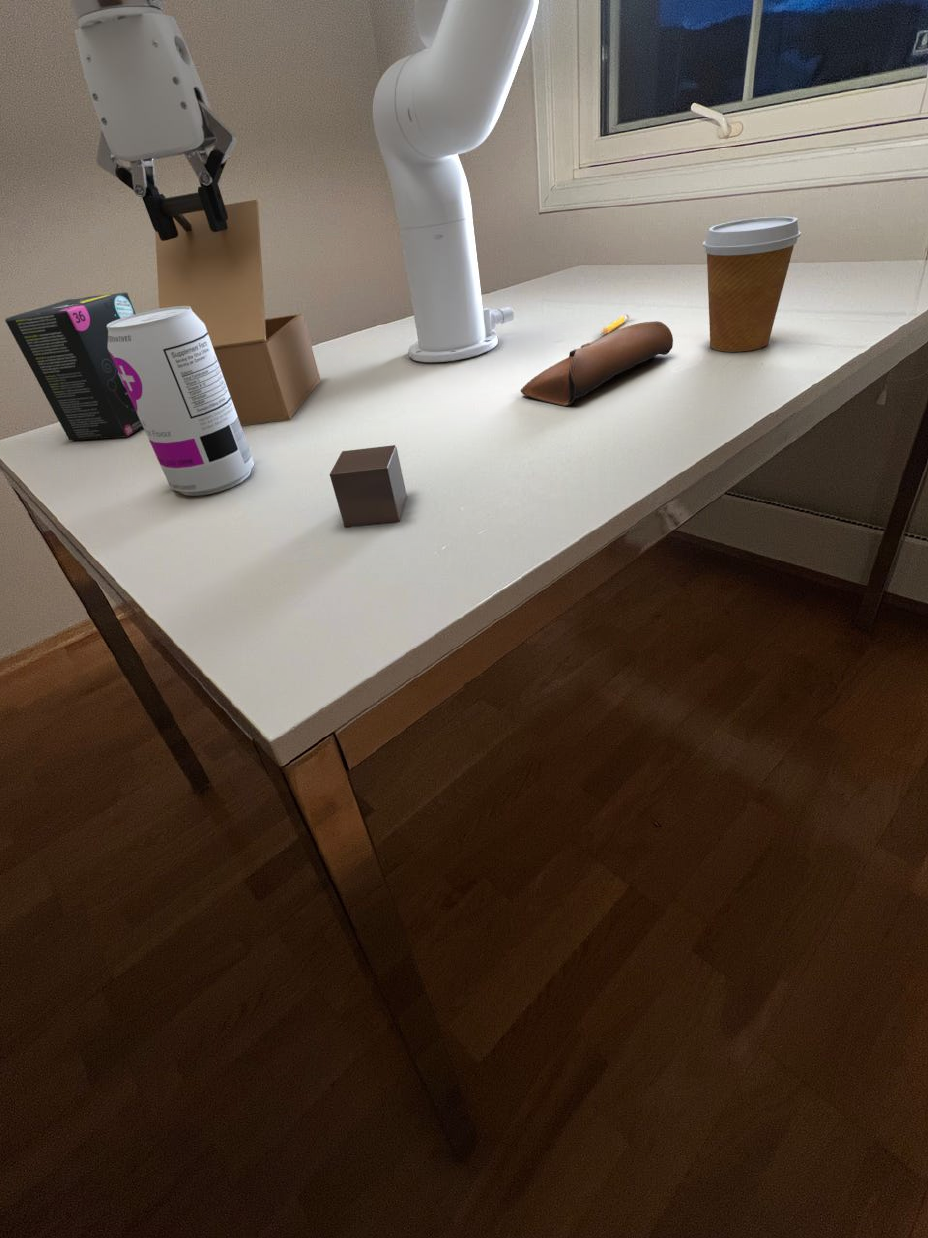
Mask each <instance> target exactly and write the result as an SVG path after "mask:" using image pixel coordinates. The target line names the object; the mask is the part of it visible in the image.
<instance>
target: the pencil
mask: <svg viewBox="0 0 928 1238" xmlns="http://www.w3.org/2000/svg"><path fill="white" fill-rule="evenodd" d="M629 318H630V316H629V315H628V314H624V315H622V316H621V317H619V318H617V319H616V320H615V321H613V322H611V323H610V324H608V325H607V326H605V327H604V328H603V329H602V330H601V332H600V335H607V334H609V333H611V332H613V330H615V329H616V328H618V327H619V326H621V325H622V324H624V323H626V322H627V321H628V320H629Z"/></svg>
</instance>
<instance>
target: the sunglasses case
mask: <svg viewBox="0 0 928 1238" xmlns="http://www.w3.org/2000/svg"><path fill="white" fill-rule="evenodd" d="M673 347H674V337H673V333H672V331H671V330H670V328H669V326H667V324H665V323H663V322H661V321H658V320H657V321H643V322H640V323H639V322H638V323H634V324H630V325H627V326H624V327H622V328H619V329H616V330H614V331H611V332H609V333H607V334H605V335H604V336H602V337H599V338H597V339H595V340H593V341H592V342H587V343H585V344H582V345H581V346H580V347H579V348H574V349H573V350H571V351H570V352H569V355H568V356H567V357H566V358H564V359H562V360H560V361H558V362H557V363H555V364H554V365H551V366H549V367H548V368H547V369H544V370H543V371H542V372H540V373H538V374H537V375H536V376H535V377H533V378H532V379H530V380H529V381H528V382H527V383H526V384H525V385H523V386H522V388H521V389H520V393H521V394H522V395H524V396H526V397H529V398H532V399H534V400H536V401H539V402H544V403H548V404H554V405H557V406H563V407H567V406H569V405H571V404H572V403H573V402H574V401H575V399H577V398H578V399H579V398H581V397H584V396H585V395H587V394H588V393H590V392H591V391H594V390H595V389H596V388H598V387H600V386H601V385H602V384H603V383H604V382H608V381H609V380H610V379H612V378H613V377H615V376H616V375H617V374H618V375H619V374H621V373H623V372H625V371H629V370H630V369H632V368H634V367H636V366H637V365H639V364H640V363H645V362H646V361H649V360H650V359H652V358H654V357H655V356H658V355H663V356H665V355H668V354H669V353H670V352H671V350H672V349H673Z"/></svg>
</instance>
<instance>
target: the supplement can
mask: <svg viewBox="0 0 928 1238" xmlns="http://www.w3.org/2000/svg"><path fill="white" fill-rule="evenodd" d="M107 329H108V347H107V348H108V350H109V352H110V355H111V357H112V359H113V361H114V364H115V366H116V368H117V370H118V372H119V375H120V377H121V379H122V381H123V383H124V386H125V388H126V390H127V392H128V395H129V397H130V399H131V401H132V403H133V406H134V408H135V410H136V412H137V414H138V417H139V419H140V421H141V423H142V426H143V427H142V428H143V429H144V432H145V434H146V436H147V439H148V441H149V443H150V445H151V447H152V448H151V449H152V450H153V452H154V455H155V456H156V459H157V461H158V463H159V465H160V467H161V470H162V472H163V474H164V476H165V479H166V481H167V483H168V486H169V488H171V489H172V490H174V491H176V492H179V493H181V494H183V495H184V496H189V497H190V496H191V497H198V496H208V495H212V494H217V493H220V492H222V491H226V490H228V489H231V488H233V487H235V486H237V485H239V484H241V483H242V482H243V481H245V480H247V478H249V476H250V474H251V471H252V469H253V467H254V465H255V461H254V458H253V455H252V453H251V450H250V447H249V445H248V441H247V439H246V436H245V432H244V430H243V428H242V426H241V424H240V422H239V419H238V416H237V413H236V410H235V408H234V405H233V402H232V399H231V396H230V394H229V391H228V388H227V385H226V382H225V380H224V377H223V374H222V371H221V368H220V366H219V363H218V360H217V357H216V355H215V352H214V349H213V346H212V343H211V341H210V338H209V335H208V332H207V329H206V327H205V324H204V323H203V322H202V321H201V320H200V319H199V318H198V317H197V316H196V314H195V313H194V312H193V311H192V309H191V307H190V306H177V307H169V308H162V309H159V308H158V309H157V308H156V309H153V310H147V311H143V312H139V313H136V314H135V315H131V316H128V317H124V318H121V319H118V320H115V321H113V322H111V323H109V324H107Z"/></svg>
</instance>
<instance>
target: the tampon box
mask: <svg viewBox="0 0 928 1238" xmlns="http://www.w3.org/2000/svg"><path fill="white" fill-rule="evenodd" d="M135 314H137V313H136V312H135V309H134V306H133V304H132V301H131V299H130V297H129V294H128V292H117V293H112V294H101V295H91V296H86V297H81V298H80V297H79V298H70V299H64V300H62V301H58V302H56V303H53V304H49V305H46V306H42V307H40V308H36V309H32V310H29V311H26V312H22V313H19V314H15V315H12V316H9V317H6V318H5V319H4V321H5V324H6V325H7V327H8V329H9V331H10V333H11V335H12V337H13V338H14V339H15V342H16V344H17V345H18V348H19V349H20V351H21V353H22V355H23V357H24V358H25V360H26V363H27V365H28V366H29V368H30V370H31V371H32V373H33V375H34V377H35V379H36V381H37V382H38V385H39V386H40V388H41V390H42V392H43V394H44V397H45V398H46V400H47V402H48V404H49V406H50V407H51V409H52V411H53V414H55V417H56V419H57V420H58V422H59V424H60V426H61V428H62V430H63V432H64V433H65V435H66V437H67V439H68V440H69V441H77V440H78V441H79V440H97V439H98V440H99V439H116V438H125V437H129V436H131V435H132V434H134V433H136V432H137V431H139V430H140V429H142V428H143V426H142V423H141V421H140V419H139V417H138V414H137V412H136V410H135V408H134V406H133V403H132V401H131V399H130V397H129V395H128V392H127V390H126V388H125V386H124V383H123V381H122V379H121V377H120V375H119V372H118V370H117V368H116V366H115V364H114V361H113V359H112V357H111V355H110V352H109V350H108V348H107V347H108V329H107V324H109V323H111V322H113V321H115V320H118V319H121V318H124V317H128V316H131V315H135Z"/></svg>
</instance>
